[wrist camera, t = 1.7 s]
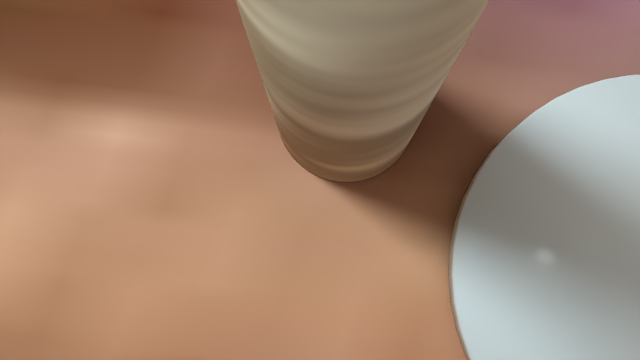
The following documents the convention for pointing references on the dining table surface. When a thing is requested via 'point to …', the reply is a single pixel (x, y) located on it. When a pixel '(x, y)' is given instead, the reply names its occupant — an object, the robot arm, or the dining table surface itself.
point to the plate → (554, 234)
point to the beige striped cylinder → (354, 74)
